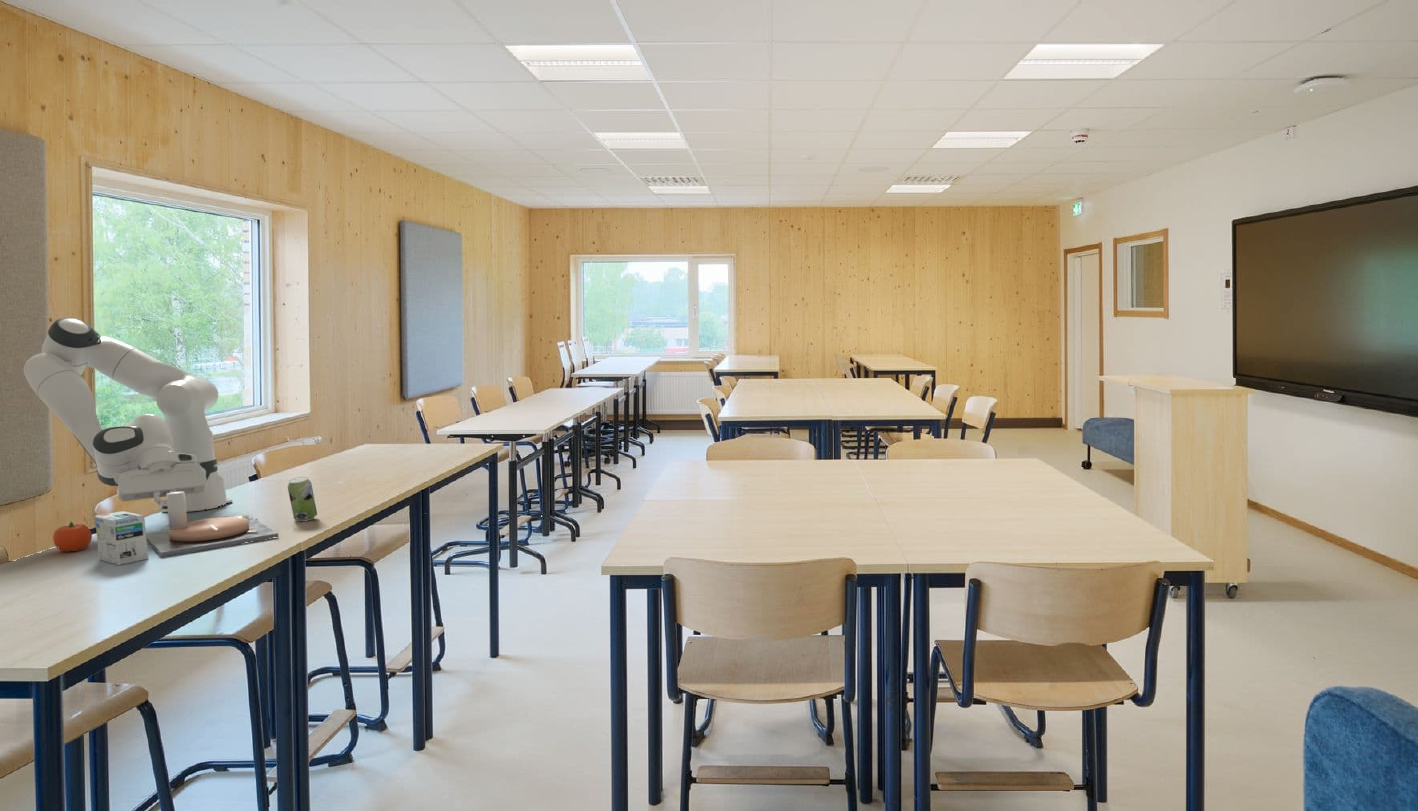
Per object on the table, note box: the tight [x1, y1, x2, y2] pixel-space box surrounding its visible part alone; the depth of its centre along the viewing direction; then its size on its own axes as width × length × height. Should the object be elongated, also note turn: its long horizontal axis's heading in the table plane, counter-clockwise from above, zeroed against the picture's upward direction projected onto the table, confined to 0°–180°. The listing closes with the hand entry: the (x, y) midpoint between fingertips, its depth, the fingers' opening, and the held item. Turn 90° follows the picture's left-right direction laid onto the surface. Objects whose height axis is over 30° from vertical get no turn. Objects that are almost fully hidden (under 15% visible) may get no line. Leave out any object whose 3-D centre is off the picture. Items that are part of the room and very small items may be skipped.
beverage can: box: [287, 476, 318, 522], centre depth 250 cm, size 6×7×12 cm
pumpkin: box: [52, 521, 93, 553], centre depth 223 cm, size 8×8×7 cm
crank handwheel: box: [166, 492, 249, 541], centre depth 231 cm, size 18×18×11 cm
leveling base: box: [146, 514, 279, 559], centre depth 232 cm, size 26×26×3 cm
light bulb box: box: [94, 510, 149, 566], centre depth 213 cm, size 11×7×11 cm, turn 56°
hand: (167, 507), depth 234 cm, fingers closed
